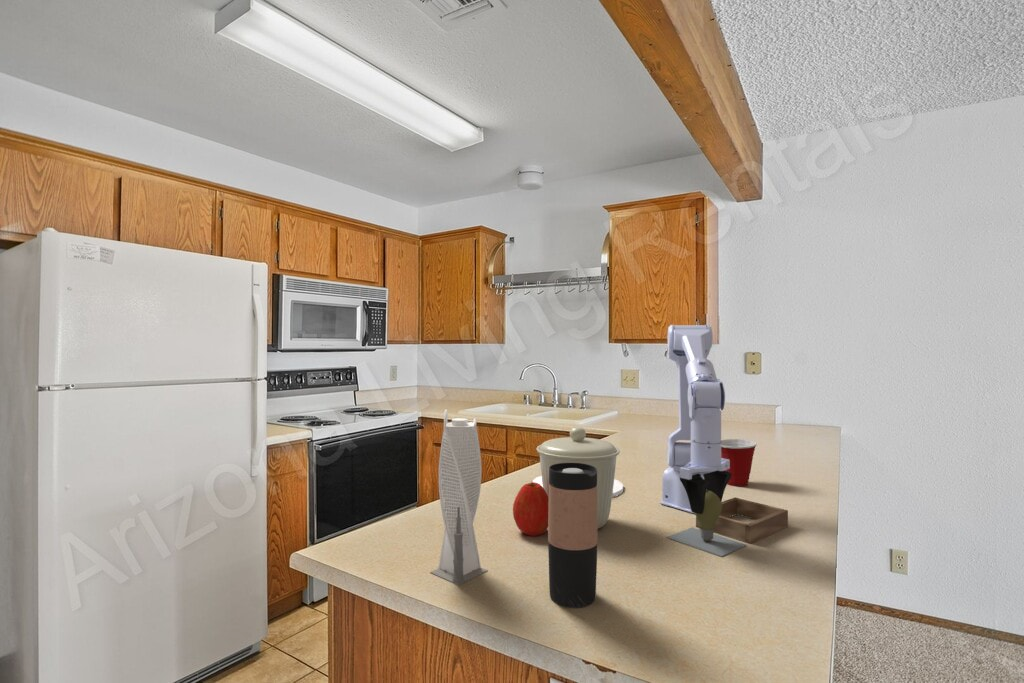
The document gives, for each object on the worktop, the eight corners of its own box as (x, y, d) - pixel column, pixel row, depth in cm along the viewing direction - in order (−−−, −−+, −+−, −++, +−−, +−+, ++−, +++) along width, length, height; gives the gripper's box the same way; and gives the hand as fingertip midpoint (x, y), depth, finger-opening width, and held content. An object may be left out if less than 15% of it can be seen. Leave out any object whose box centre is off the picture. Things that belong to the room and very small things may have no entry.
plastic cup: (707, 480, 151) (707, 438, 151) (739, 477, 153) (739, 437, 153) (731, 490, 140) (731, 445, 140) (765, 487, 143) (765, 444, 143)
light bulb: (724, 547, 100) (723, 495, 100) (693, 545, 101) (693, 493, 101) (719, 537, 105) (719, 487, 105) (690, 534, 107) (690, 486, 107)
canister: (624, 515, 119) (624, 423, 120) (613, 543, 102) (613, 436, 102) (548, 507, 125) (548, 419, 125) (525, 532, 108) (526, 431, 108)
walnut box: (696, 526, 112) (696, 510, 112) (735, 512, 122) (735, 497, 122) (750, 543, 102) (750, 526, 102) (787, 526, 112) (787, 510, 112)
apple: (520, 523, 114) (520, 474, 114) (556, 527, 111) (556, 477, 111) (507, 536, 106) (507, 484, 106) (546, 541, 103) (546, 487, 103)
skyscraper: (424, 572, 90) (425, 410, 90) (458, 557, 96) (458, 406, 96) (458, 587, 85) (459, 415, 85) (492, 570, 91) (492, 410, 91)
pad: (666, 537, 106) (666, 536, 106) (692, 528, 111) (692, 527, 111) (721, 557, 96) (721, 555, 96) (746, 545, 102) (746, 544, 102)
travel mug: (544, 585, 84) (544, 462, 84) (590, 584, 85) (591, 461, 85) (552, 609, 77) (552, 474, 77) (603, 607, 77) (603, 473, 77)
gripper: (703, 448, 96) (703, 522, 96) (743, 440, 105) (743, 507, 105) (670, 443, 102) (670, 512, 101) (711, 435, 111) (711, 499, 110)
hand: (705, 509), depth 104 cm, fingers closed on light bulb, 5 cm apart
